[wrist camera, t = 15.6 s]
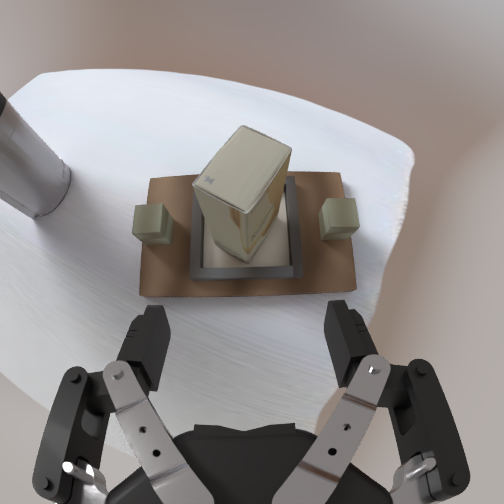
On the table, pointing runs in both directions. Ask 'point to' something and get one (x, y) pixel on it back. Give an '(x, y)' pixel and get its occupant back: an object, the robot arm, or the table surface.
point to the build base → (268, 255)
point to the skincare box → (243, 191)
